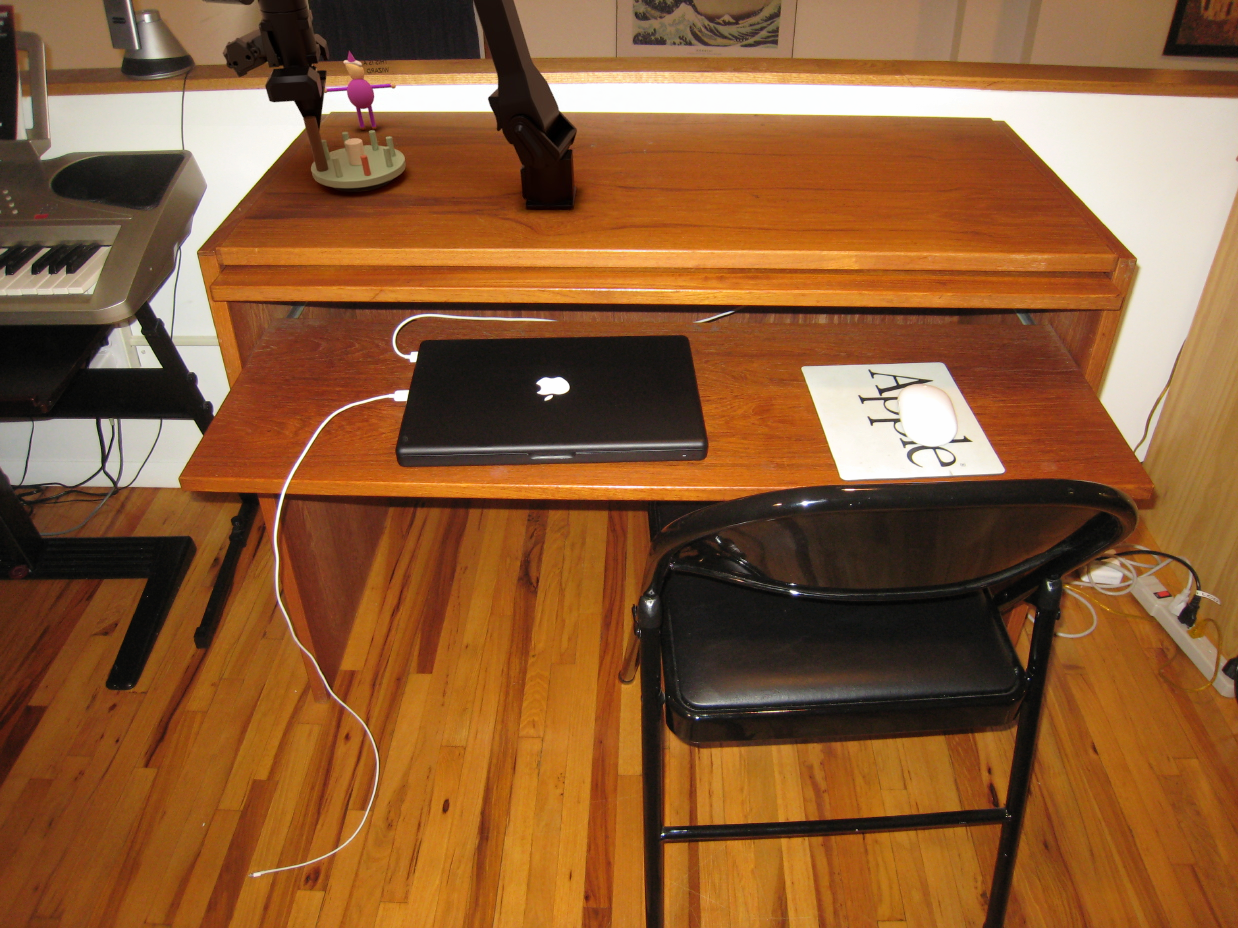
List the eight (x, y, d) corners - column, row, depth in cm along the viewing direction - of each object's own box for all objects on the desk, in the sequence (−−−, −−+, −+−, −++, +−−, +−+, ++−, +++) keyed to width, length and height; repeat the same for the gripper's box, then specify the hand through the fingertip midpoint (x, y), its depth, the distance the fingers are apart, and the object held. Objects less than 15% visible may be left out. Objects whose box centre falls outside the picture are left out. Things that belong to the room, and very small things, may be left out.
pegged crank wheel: (390, 146, 123) (379, 89, 117) (417, 176, 114) (407, 116, 109) (303, 163, 118) (287, 105, 113) (324, 196, 110) (308, 135, 104)
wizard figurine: (403, 125, 133) (389, 45, 125) (403, 132, 131) (388, 51, 123) (333, 130, 132) (313, 50, 124) (331, 137, 130) (311, 56, 122)
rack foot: (400, 166, 121) (398, 159, 120) (385, 192, 114) (383, 184, 113) (339, 166, 121) (338, 159, 120) (321, 192, 114) (319, 184, 113)
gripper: (227, -8, 108) (263, 112, 119) (203, 32, 94) (245, 164, 105) (314, -13, 109) (341, 107, 120) (302, 27, 96) (334, 157, 107)
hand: (315, 132), depth 113 cm, fingers closed
